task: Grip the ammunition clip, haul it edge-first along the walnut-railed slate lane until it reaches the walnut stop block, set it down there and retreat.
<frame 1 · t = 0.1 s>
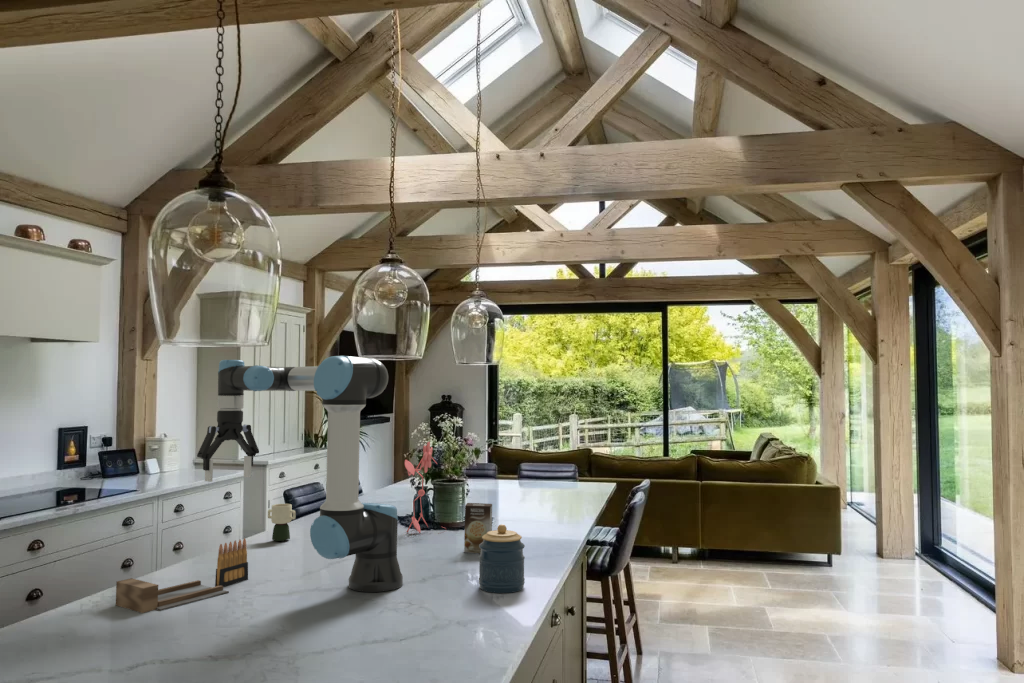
hand: (228, 479, 230), 28 cm above the countertop, fingers open, 13 cm apart
coffee box: (478, 551, 259), on the countertop
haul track: (177, 596, 201), on the countertop
canister: (501, 588, 212), on the countertop
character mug: (280, 541, 275), on the countertop
ammunition clip: (231, 584, 215), on the countertop
lemon: (336, 536, 285), on the countertop
figurine: (427, 531, 295), on the countertop
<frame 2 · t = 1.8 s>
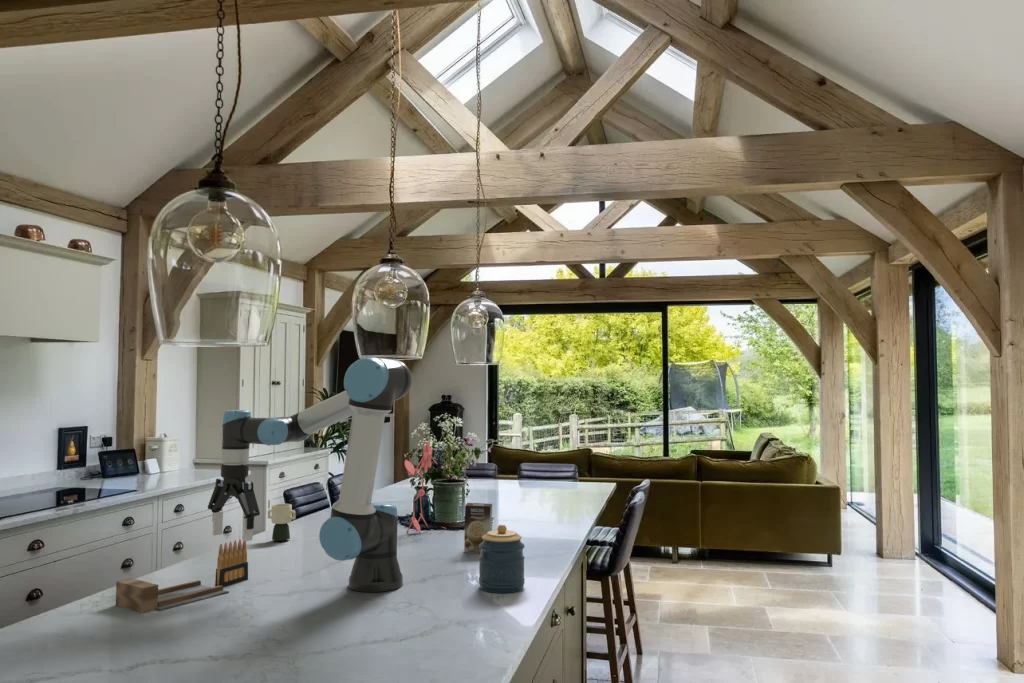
hand: (232, 537, 216), 13 cm above the countertop, fingers open, 13 cm apart
nothing on the countertop moved.
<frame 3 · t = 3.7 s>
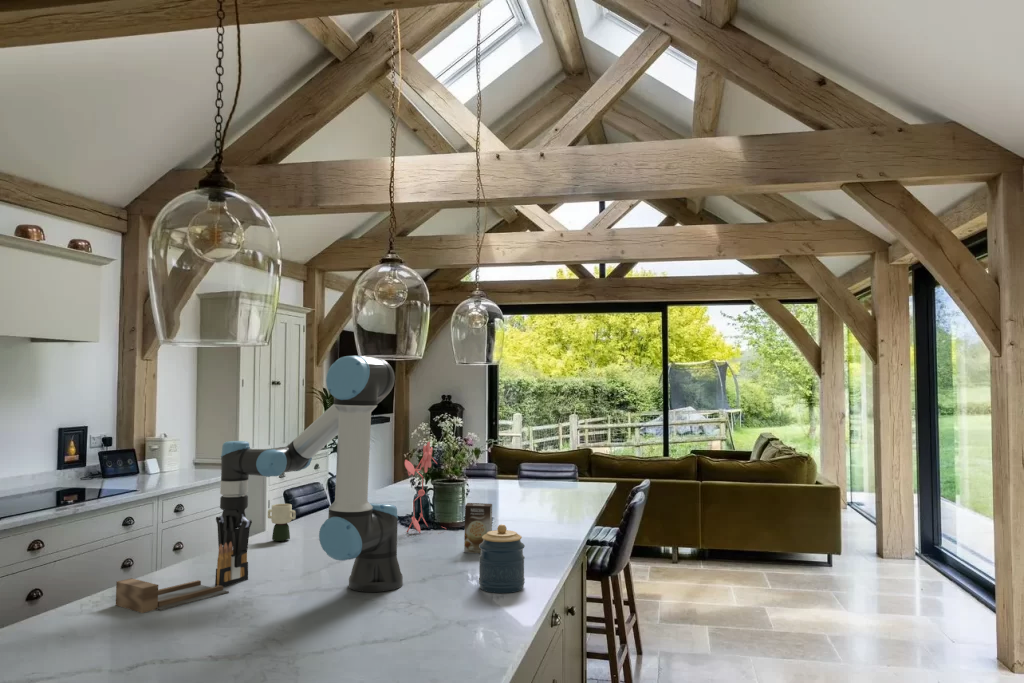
hand: (232, 577, 215), 2 cm above the countertop, fingers closed on ammunition clip, 2 cm apart
ammunition clip: (231, 583, 215), on the countertop, touching gripper
everything else where it was.
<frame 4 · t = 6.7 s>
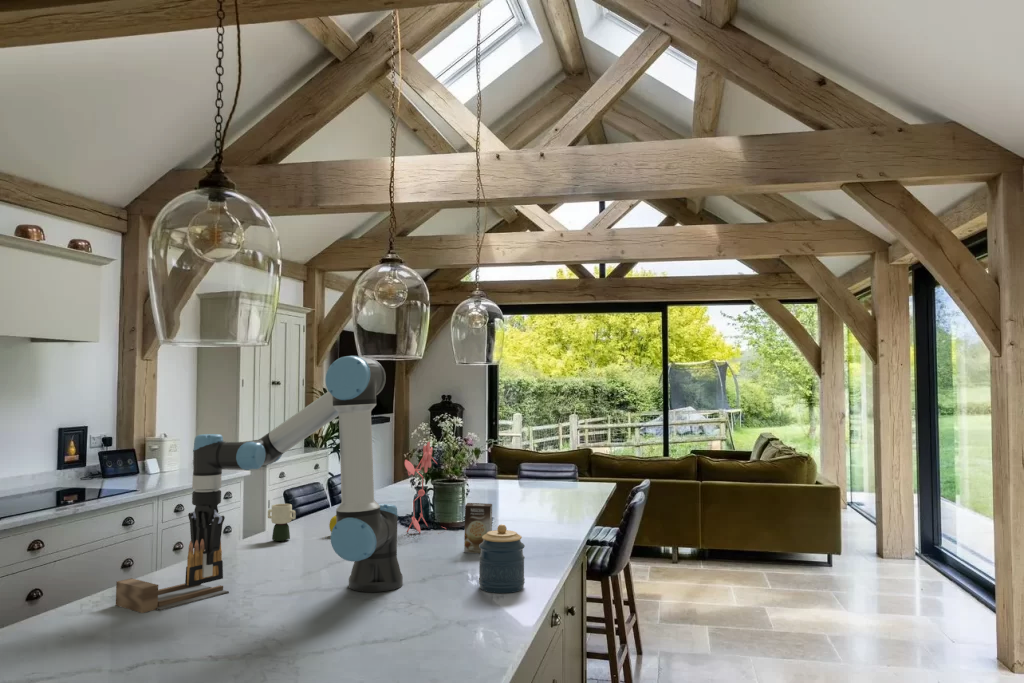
hand: (204, 575, 208), 4 cm above the countertop, fingers closed on ammunition clip, 2 cm apart
ammunition clip: (204, 582, 208), point 2 cm above the countertop, touching gripper
everything else where it was.
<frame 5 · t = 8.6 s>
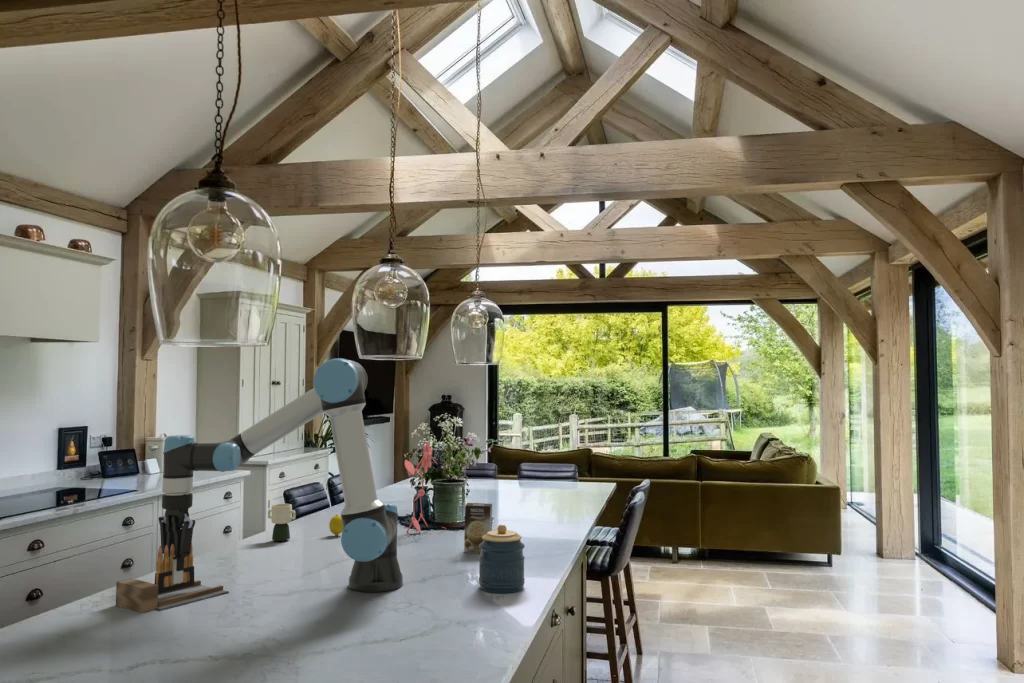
hand: (174, 582, 201), 4 cm above the countertop, fingers closed on ammunition clip, 2 cm apart
ammunition clip: (174, 589, 200), point 2 cm above the countertop, touching gripper
everything else where it was.
when the fingers open (3 cm above the countertop, at t = 10.1 s): ammunition clip stays where it is, resting on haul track.
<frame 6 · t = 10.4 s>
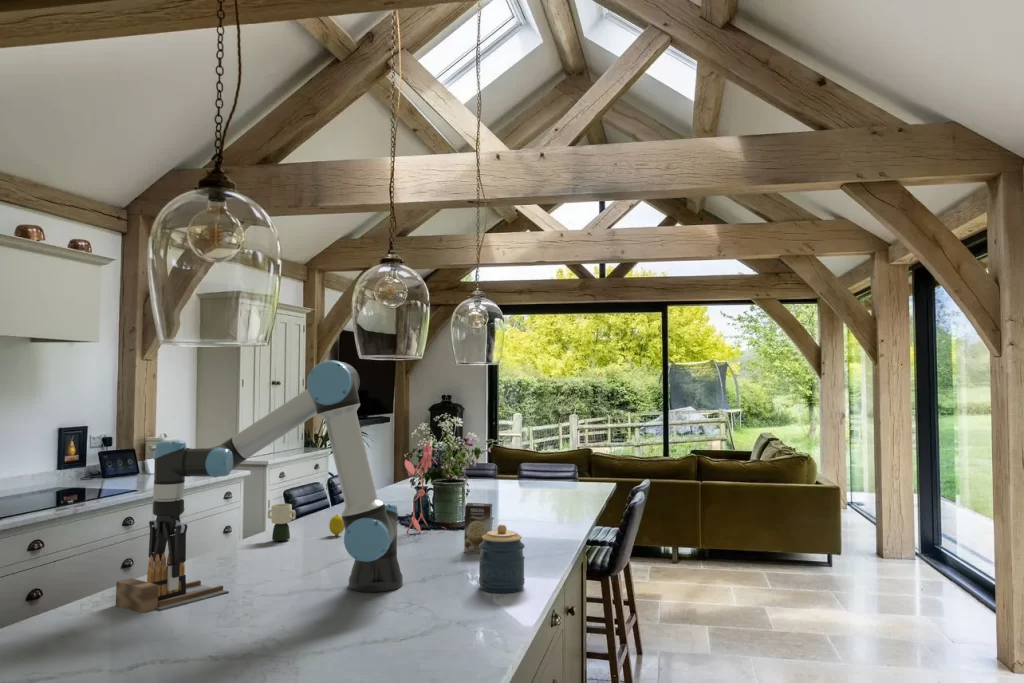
hand: (165, 587, 198), 3 cm above the countertop, fingers open, 5 cm apart
ammunition clip: (165, 599, 198), resting on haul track
everything else where it was.
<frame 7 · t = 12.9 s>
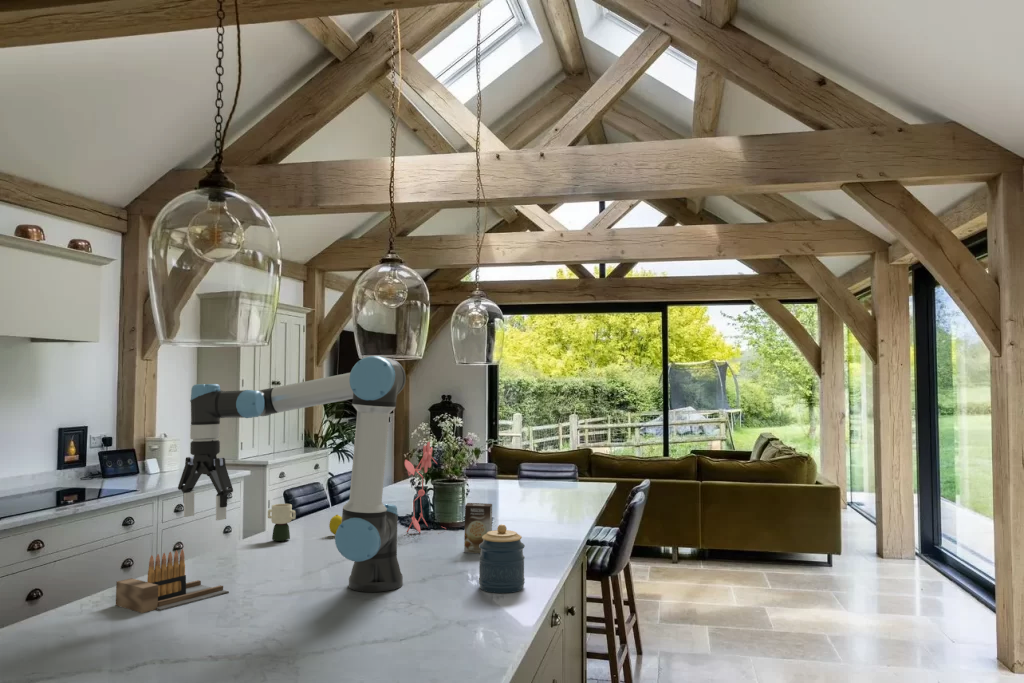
hand: (204, 517, 206), 20 cm above the countertop, fingers open, 13 cm apart
nothing on the countertop moved.
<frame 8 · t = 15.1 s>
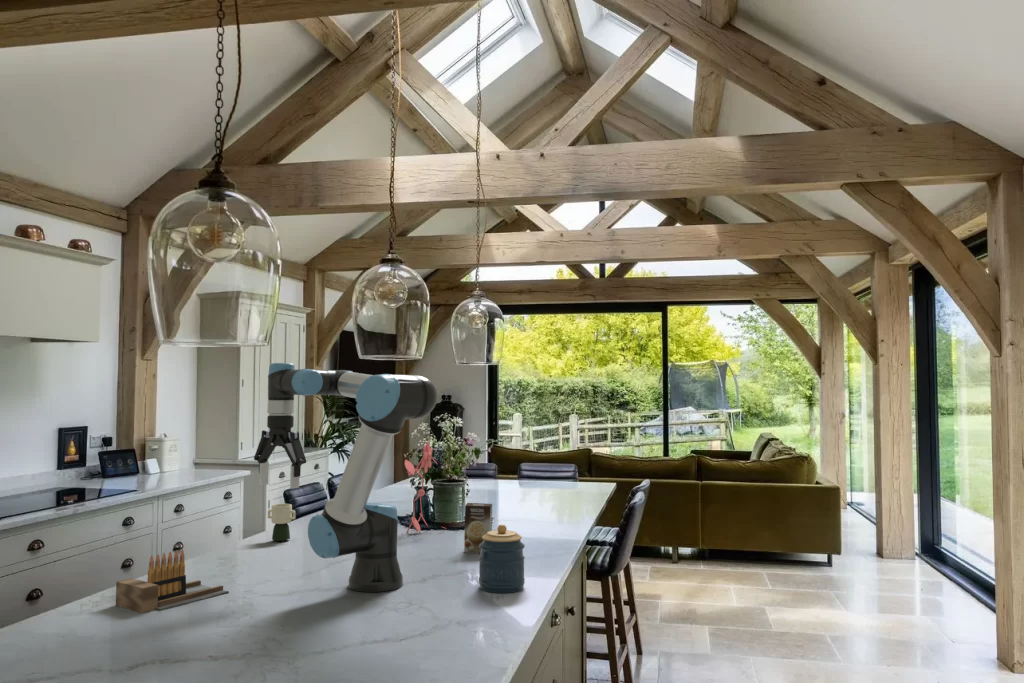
hand: (278, 486, 223), 27 cm above the countertop, fingers open, 13 cm apart
nothing on the countertop moved.
at the end: ammunition clip inside the target area (0.3 cm from its centre), resting on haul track; ammunition clip tilted 0°; the gripper is holding nothing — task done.
